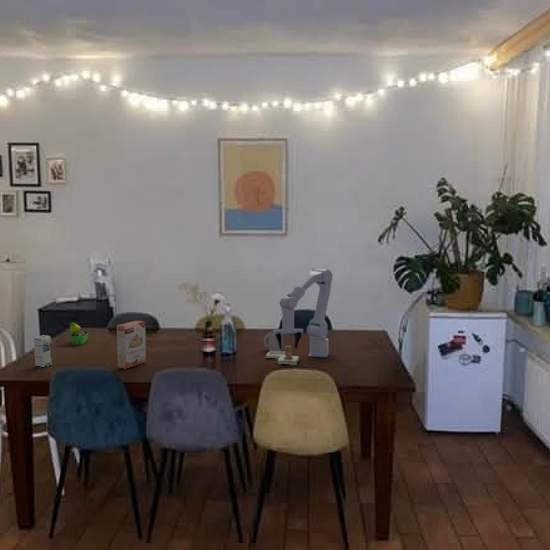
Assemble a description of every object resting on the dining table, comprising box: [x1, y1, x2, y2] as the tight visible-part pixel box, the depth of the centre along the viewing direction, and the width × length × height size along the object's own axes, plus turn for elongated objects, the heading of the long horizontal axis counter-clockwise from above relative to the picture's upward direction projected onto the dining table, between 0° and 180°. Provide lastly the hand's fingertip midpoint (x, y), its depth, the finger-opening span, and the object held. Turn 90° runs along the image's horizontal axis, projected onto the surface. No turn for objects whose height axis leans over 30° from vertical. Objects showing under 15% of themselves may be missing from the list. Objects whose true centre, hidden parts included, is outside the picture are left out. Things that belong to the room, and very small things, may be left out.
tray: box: [265, 350, 285, 360], centre depth 345 cm, size 10×9×2 cm
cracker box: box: [116, 320, 147, 370], centre depth 329 cm, size 14×6×21 cm, turn 148°
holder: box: [277, 355, 300, 366], centre depth 335 cm, size 9×9×2 cm
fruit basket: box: [69, 322, 90, 346], centre depth 376 cm, size 11×9×11 cm
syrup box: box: [33, 334, 53, 368], centre depth 330 cm, size 6×6×14 cm
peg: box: [284, 345, 292, 360], centre depth 335 cm, size 3×3×8 cm
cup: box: [263, 331, 283, 351], centre depth 359 cm, size 7×10×9 cm
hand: (288, 348), depth 334 cm, fingers open, 7 cm apart
